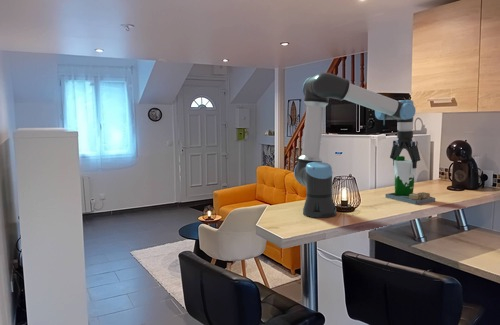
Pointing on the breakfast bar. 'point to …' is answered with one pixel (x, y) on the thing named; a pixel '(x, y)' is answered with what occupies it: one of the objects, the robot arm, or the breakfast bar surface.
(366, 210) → the breakfast bar surface
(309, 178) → the robot arm
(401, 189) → the soya milk
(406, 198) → the tray
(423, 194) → the oak block
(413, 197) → the oak block
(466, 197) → the breakfast bar surface
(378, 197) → the breakfast bar surface
